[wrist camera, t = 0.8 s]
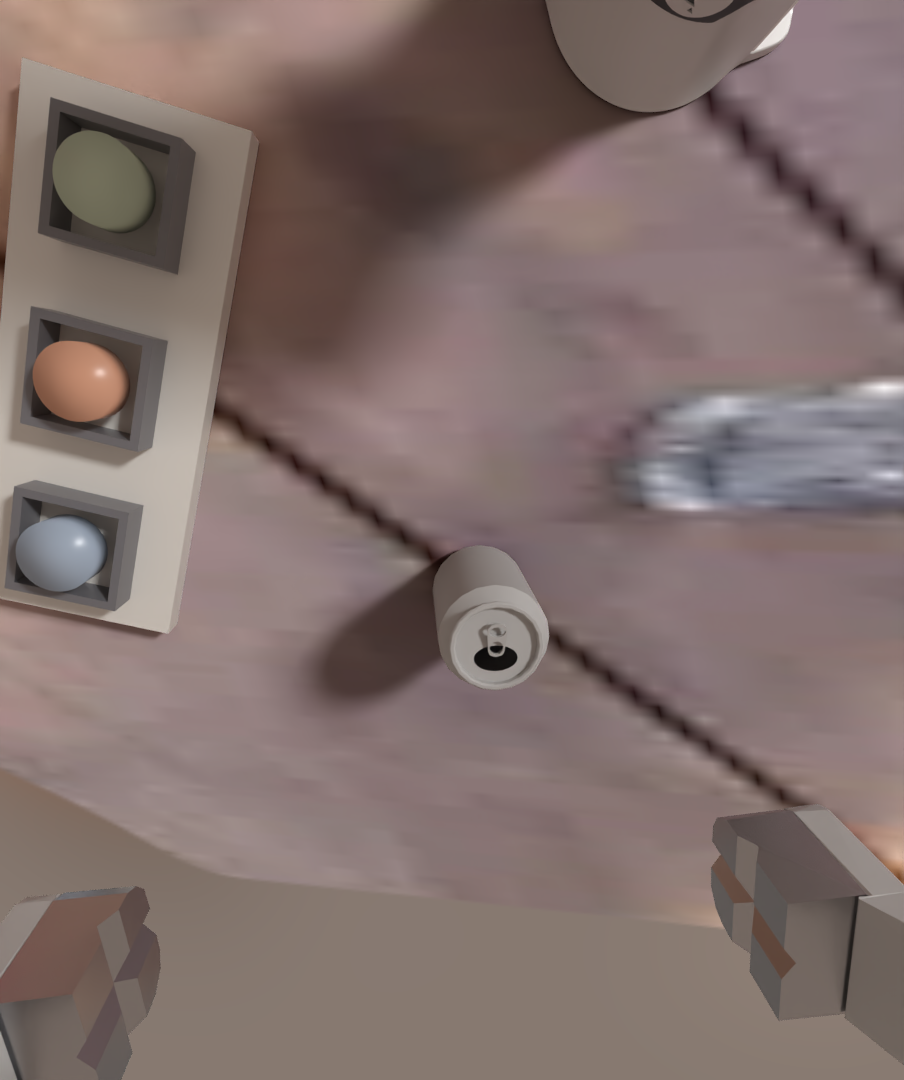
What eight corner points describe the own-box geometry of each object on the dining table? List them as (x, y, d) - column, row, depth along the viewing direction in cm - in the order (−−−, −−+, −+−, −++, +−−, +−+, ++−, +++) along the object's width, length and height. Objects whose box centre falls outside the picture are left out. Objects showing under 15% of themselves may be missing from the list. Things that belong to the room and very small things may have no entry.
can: (432, 628, 52) (439, 702, 40) (432, 542, 50) (438, 595, 38) (520, 626, 52) (552, 699, 41) (523, 541, 50) (557, 592, 39)
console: (40, 72, 40) (-5, 36, 35) (259, 142, 41) (241, 115, 37) (-5, 585, 48) (-46, 606, 44) (177, 623, 50) (155, 647, 46)
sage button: (77, 132, 37) (57, 118, 35) (161, 158, 38) (146, 146, 36) (67, 219, 39) (48, 211, 36) (149, 243, 39) (135, 236, 37)
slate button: (38, 506, 43) (18, 513, 41) (111, 523, 44) (96, 531, 42) (31, 572, 44) (12, 582, 42) (103, 587, 45) (87, 598, 43)
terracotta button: (56, 333, 40) (36, 331, 38) (134, 354, 41) (119, 353, 39) (48, 408, 42) (28, 410, 39) (124, 427, 42) (109, 430, 40)
